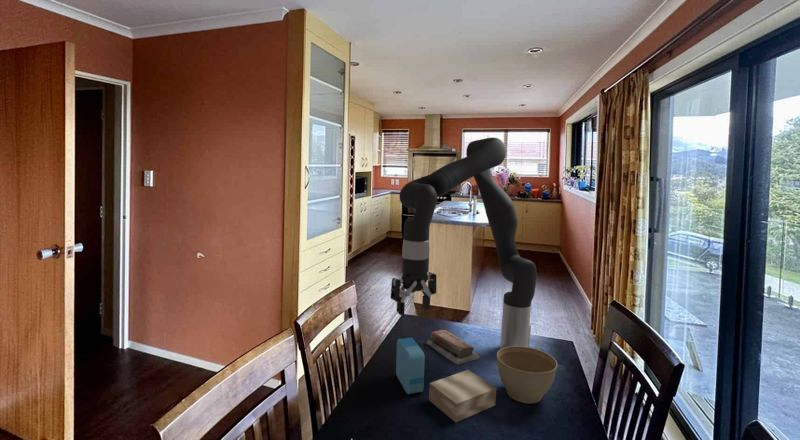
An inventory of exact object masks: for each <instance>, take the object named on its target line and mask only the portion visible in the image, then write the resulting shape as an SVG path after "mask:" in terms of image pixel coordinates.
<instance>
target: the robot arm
mask: <svg viewBox="0 0 800 440" xmlns="http://www.w3.org/2000/svg"><path fill="white" fill-rule="evenodd" d="M506 149H507V148H506V145H505V143H504V141H503V140H501V139H500V138H498V137H487V138H481V139H476V140H472V141H470V142H469V143H468V145H467V147H466V150H465V151H466V152H465V155H466V156H465V157H462V158H460V159H458V160H455V161H452V162H450V163H447V164H445V165H444V166H443V165H442V166H441V167H440V168H438V169H437V170H436V169H435V171H433V172H431V173H430V174H428V175H424V176H422V177H419V178H416V179H413V180H411V181H409V182H407V183H405V185H403V186H402V188H401V190H400V193H399V201H400V203H401V204H402V206H404V207H405V208H408V209H413V210H415V211H414V214H413V216H412V217H408V218H406V220H405V221H404V225H403V243H402V249H401V252H402V253H401V272H402V275H401V277H400V278H395V277H392V278H391V287H390V300H392V301H394V302H396V312H397V314H398V315H400V316H404V315H405V308H406V307H405V306H406V301H405V300H406V299H407V297H409V296H410V294H411V293H416V292H421V293H422V299H421V300H422V301H421V304H422V305H421V307H422V309H424V310H425V311H427V310H429V309H430V306H431V298H432V296H433V295H436V293H437V274H436V273H433V272H431V271H429V270H430V231H431V229H430V226H431V223H432V220H433V217H434V214H435V210H436V206H437V203H438V197H441V196H444V195H445V194H448V193H449V192H451V191H453V190H454V189H455V188H457V187H458V186H460V185H461V184H463V183H464V182H466V181H468V180H470V179H471V178H473V179H474V180H475V183H476V185H477V188H478V190H479V195H480V197H481V200H482V204H483V206H484V210H485V214H486V218H487V221H488V224H489V227H490V230H491V234H492V238H493V242H494V244H495V248H496V253H497V258H498V263H499V268H500V272H501V275H502V277H503V278H504V279H505V280H506V281H508V282H510V283H512V284H511V285H512V286H511V291H507V292H505V293H504V294H503V298H502V299H503V302H502V313H501V314H502V315H501V331H500V342H499V343H500V344H499V350H500V349H502V348H505V347H510V346H523V347H530V342H531V329H532V325H531V324H530V323H531V322H530V321H531V309H532V308H531V307H532V301H533V298H534V296H535V292H536V285H537V277H538V271H537V270H538V269H537V266H536V264H535V262H534V261H531V260H529V259H527V258H524V257H521V256H520V254H519V251H518V249H517V248H518V247H517V245H516V240H515V239H516V232H517V229H518V216H517V211H516V209H515V205H514V203H513V200H512V198H511V197H510V196H509V194H508V193H506V191H505V190H504V189H503V188H502V187H501V186H500V184H498V183H497V181H496V180H495V178H494V176H493V172H492V171H491V169H493V168H495V167H499V166H500V165H501V164H503V162H504V161H505V158H506V156H507V150H506Z"/></svg>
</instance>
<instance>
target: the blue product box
mask: <svg viewBox="0 0 800 440" xmlns="http://www.w3.org/2000/svg"><path fill="white" fill-rule="evenodd" d="M425 359H426V357H425V353H424V351H423V349H421V347H420V346H419V345H418V343H417V341H415V339H414V338H413V337H406V338H398V339H397V341H396V359H395V360H396V361H395V365H396V366H395V367H396V368H395V373H396V374H395V375H396V377H397V379H398V381H399V382H400V385H402V388H403V389H404V392H405V393H406V394H407V395H411V394H417V393H418V394H419V393H422V392H423V391H424V386H425V385H424V383H425V382H424V381H425V380H424V379H425Z"/></svg>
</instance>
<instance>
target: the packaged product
mask: <svg viewBox="0 0 800 440" xmlns="http://www.w3.org/2000/svg"><path fill="white" fill-rule="evenodd" d="M426 345H428V346H429V345H430V347H431V348H432V349H433V350H435V351H436V352H438V353H439V354H441V355H442V356H443V357H444V358H446V359H447V360H449V361H451V362H452V363H454V364H455V365H462V364H465V363H470V362H472V361H474V360H478V359H480V358H481V355H479V354H477V353H476V352H474V349H475V348H474V346H472V345H470V344H469V343H467V342H466V341H464V340H462V339H461V338H460V337H458V336H456V335H455V334H453V333H451V332H449V331H448V330H445V329H439V330H435V331H432V332H431V333H430V339H427V340H426Z"/></svg>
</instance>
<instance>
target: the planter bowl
mask: <svg viewBox="0 0 800 440" xmlns="http://www.w3.org/2000/svg"><path fill="white" fill-rule="evenodd" d="M496 359H497V364H496V365H497V371H498V375H499V378H500V381H501V383H502V385H503V386H504V388H505V389H506V394H507V395H508V396H509V397H510V399H513V400H515V401H517V402H519V403H523V404H536V403H539V402H540V401H541V400H542V398H543V396H544V395H546V393H547V392H548V391H549V390H550V388H551V387H552V385H553V383H554V380H555V377H556V374H557V373H556V372H557V369H558V361H557V360H556V358H555V357H553V355H551V354H549V353H547V352H545V351H544V350H541V349H537V348H533V347H530V346H529V347H523V346H510V347H505V348H502V349H500V348H499V350H498V351H497V353H496Z"/></svg>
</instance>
